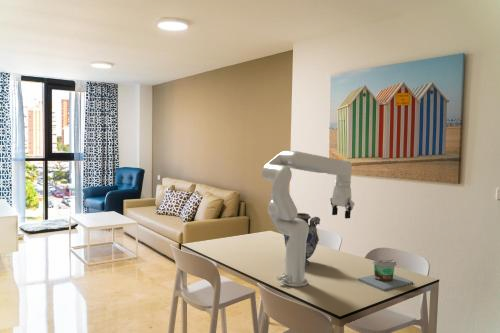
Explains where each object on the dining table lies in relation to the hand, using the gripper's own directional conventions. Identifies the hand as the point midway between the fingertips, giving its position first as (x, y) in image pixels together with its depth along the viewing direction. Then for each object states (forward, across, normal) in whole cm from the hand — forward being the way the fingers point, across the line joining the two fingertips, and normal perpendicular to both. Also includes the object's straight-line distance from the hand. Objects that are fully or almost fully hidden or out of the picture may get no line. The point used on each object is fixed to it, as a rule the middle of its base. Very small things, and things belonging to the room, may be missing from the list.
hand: (340, 216), depth 211 cm
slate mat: (+30, +21, +13) cm, 39 cm away
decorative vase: (+31, -23, -7) cm, 39 cm away
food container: (+29, +21, +13) cm, 38 cm away
